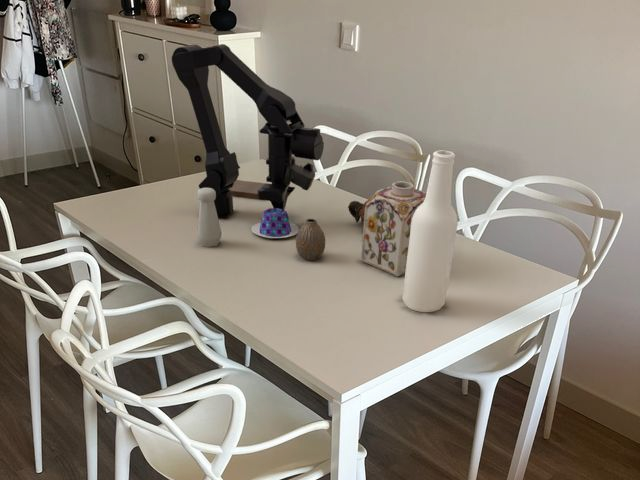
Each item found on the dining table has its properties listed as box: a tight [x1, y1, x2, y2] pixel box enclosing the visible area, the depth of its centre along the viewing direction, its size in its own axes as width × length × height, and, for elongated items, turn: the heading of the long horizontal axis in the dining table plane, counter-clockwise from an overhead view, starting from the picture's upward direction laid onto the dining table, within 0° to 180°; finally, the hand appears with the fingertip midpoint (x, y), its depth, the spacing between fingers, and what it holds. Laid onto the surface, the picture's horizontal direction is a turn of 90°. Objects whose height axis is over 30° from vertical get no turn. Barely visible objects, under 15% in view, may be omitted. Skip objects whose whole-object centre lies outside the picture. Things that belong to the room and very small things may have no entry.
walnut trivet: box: [228, 179, 266, 200], centre depth 191 cm, size 12×10×2 cm
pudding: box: [251, 207, 300, 239], centre depth 166 cm, size 12×12×5 cm
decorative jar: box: [360, 180, 427, 277], centre depth 149 cm, size 12×12×18 cm
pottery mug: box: [347, 199, 370, 223], centre depth 170 cm, size 12×10×8 cm
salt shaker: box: [196, 188, 222, 248], centre depth 156 cm, size 6×6×13 cm
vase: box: [295, 218, 326, 261], centre depth 153 cm, size 7×7×9 cm
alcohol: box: [401, 149, 459, 313], centre depth 129 cm, size 9×9×30 cm
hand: (280, 217), depth 170 cm, fingers closed
